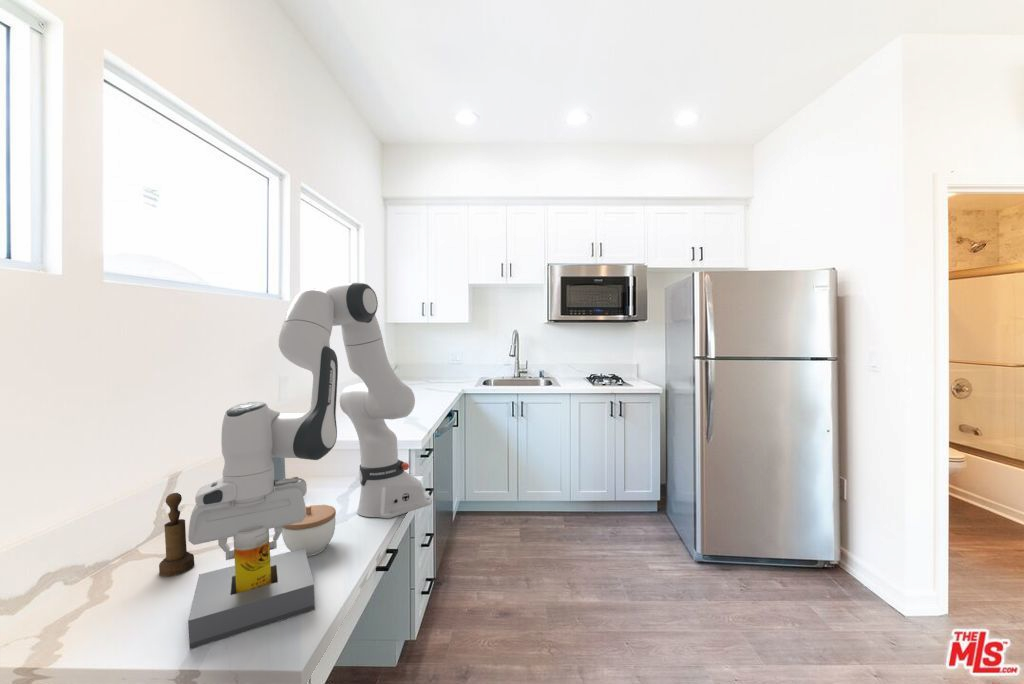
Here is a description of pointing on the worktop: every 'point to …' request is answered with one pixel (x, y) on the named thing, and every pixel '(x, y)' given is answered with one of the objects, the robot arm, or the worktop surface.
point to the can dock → (249, 599)
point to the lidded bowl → (311, 530)
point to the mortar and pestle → (175, 541)
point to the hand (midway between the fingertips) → (251, 553)
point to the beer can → (252, 559)
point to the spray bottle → (279, 468)
